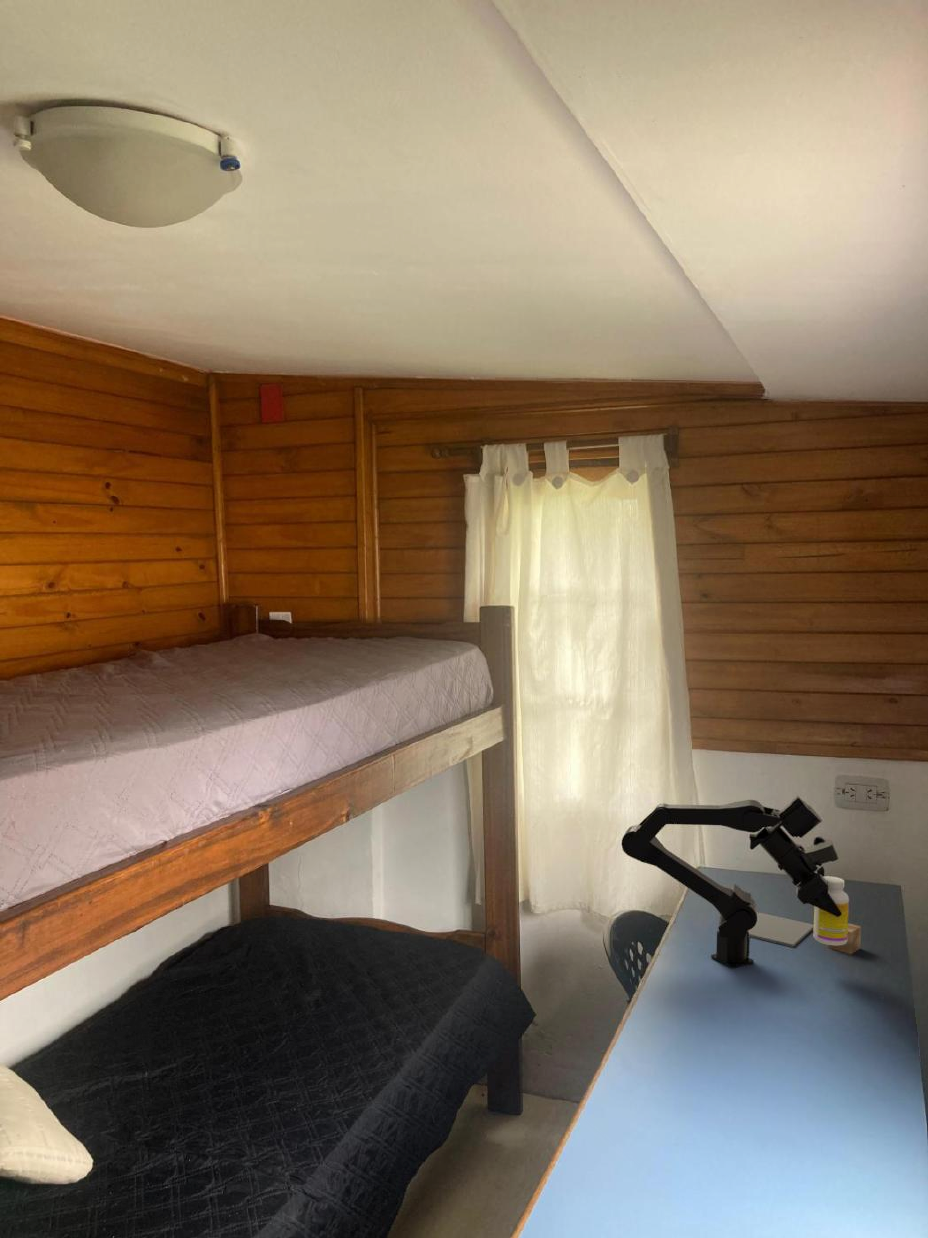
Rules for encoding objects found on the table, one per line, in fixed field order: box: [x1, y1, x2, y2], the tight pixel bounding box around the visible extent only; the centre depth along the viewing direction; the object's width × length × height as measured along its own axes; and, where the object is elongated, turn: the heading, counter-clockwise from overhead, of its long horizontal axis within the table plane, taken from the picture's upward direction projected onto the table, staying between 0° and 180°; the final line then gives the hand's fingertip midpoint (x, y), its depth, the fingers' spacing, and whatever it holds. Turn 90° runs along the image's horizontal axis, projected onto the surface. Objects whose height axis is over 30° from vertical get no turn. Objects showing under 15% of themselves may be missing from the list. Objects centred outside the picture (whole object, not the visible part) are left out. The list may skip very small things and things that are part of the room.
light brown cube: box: [827, 922, 862, 955], centre depth 210 cm, size 5×5×5 cm
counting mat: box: [748, 911, 814, 948], centre depth 221 cm, size 16×16×1 cm
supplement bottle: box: [812, 875, 850, 946], centre depth 196 cm, size 7×7×13 cm
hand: (838, 910), depth 195 cm, fingers closed on supplement bottle, 7 cm apart
